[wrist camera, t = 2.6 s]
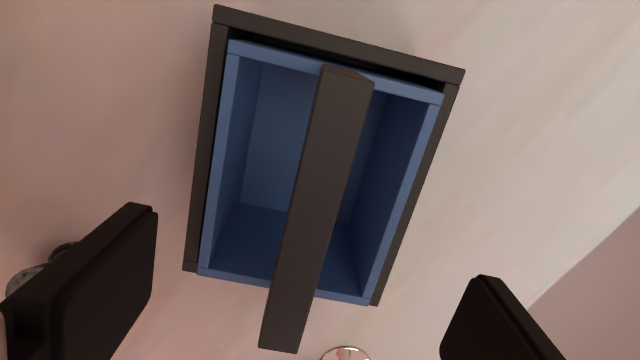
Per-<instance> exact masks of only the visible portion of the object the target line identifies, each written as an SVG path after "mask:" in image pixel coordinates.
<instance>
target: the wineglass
mask: <svg viewBox="0 0 640 360" xmlns="http://www.w3.org/2000/svg"><path fill="white" fill-rule="evenodd" d="M321 360H370V359H369V358H368V356H367V355H366V354H365V353H364V352H363V351H361V350H359V349H357V348H354V347H339V348H335V349H333V350H331V351H329V352H328V353H326V354H325V355H324V356H323V358H322V359H321Z"/></svg>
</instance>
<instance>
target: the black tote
mask: <svg viewBox="0 0 640 360" xmlns="http://www.w3.org/2000/svg"><path fill="white" fill-rule="evenodd" d="M212 22H214V23H212V24H211V32H210V40H209V48H208V57H207V65H206V74H205V82H204V90H203V99H202V107H201V116H200V124H199V132H198V141H197V149H196V158H195V166H194V174H193V183H192V191H191V200H190V208H189V216H188V225H187V233H186V242H185V250H184V260H183V266H182V270H183V271H188V272H193V273H197V268H198V260H199V253H200V246H201V238H202V231H203V224H204V217H205V209H206V202H207V195H208V188H209V180H210V173H211V166H212V159H213V151H214V144H215V137H216V129H217V122H218V115H219V108H220V100H221V93H222V86H223V79H224V71H225V64H226V57H227V54H228V52H227V49H228V42H229V40H230V39H232V40H259V41H264V42H268V43H272V44H276V45H280V46H284V47H288V48H292V49H296V50H299V51H303V52H307V53H311V54H315V55H319V56H323V57H327V58H331V59H335V60H338V61H342V62H346V63H350V64H354V65H358V66H362V67H366V68H370V69H374V70H378V71H381V72H385V73H389V74H393V75H397V76H400V77H403V78H405V79H408V80H410V81H413V82H415V83H418V84H421V85H423V86H426V87H428V88H431V89H433V90H436V91H438V92H441V93H443V94H445V96H444V99H443V102H442V104H441V106H440V110H439V113H438V115H437V118H436V121H435V124H434V126H433V129H432V132H431V135H430V137H429V140H428V143H427V146H426V148H425V151H424V154H423V157H422V159H421V162H420V165H419V168H418V170H417V173H416V176H415V179H414V181H413V184H412V187H411V190H410V192H409V195H408V198H407V201H406V203H405V206H404V209H403V212H402V214H401V217H400V220H399V223H398V225H397V228H396V231H395V234H394V236H393V239H392V242H391V245H390V247H389V250H388V253H387V256H386V258H385V261H384V264H383V267H382V269H381V272H380V275H379V278H378V280H377V283H376V286H375V289H374V291H373V294H372V297H371V300H370V302H369V305H371V306H378V304H379V301H380V299H381V296H382V293H383V290H384V288H385V285H386V282H387V280H388V277H389V274H390V272H391V269H392V266H393V264H394V261H395V258H396V256H397V253H398V250H399V248H400V245H401V242H402V240H403V237H404V235H405V232H406V229H407V227H408V224H409V221H410V219H411V216H412V213H413V211H414V208H415V205H416V203H417V200H418V197H419V195H420V192H421V189H422V187H423V184H424V181H425V179H426V176H427V173H428V171H429V168H430V165H431V163H432V160H433V157H434V155H435V152H436V149H437V147H438V144H439V141H440V139H441V136H442V133H443V131H444V128H445V125H446V123H447V120H448V117H449V115H450V112H451V109H452V107H453V104H454V101H455V99H456V96H457V93H458V91H459V88H460V86H459V85H460V84H461V82H462V79H463V77H464V74H465V70H464V69H461V68H457V67H453V66H450V65H446V64H442V63H438V62H434V61H431V60H427V59H423V58H419V57H415V56H412V55H408V54H404V53H400V52H396V51H393V50H389V49H385V48H381V47H378V46H374V45H370V44H366V43H362V42H359V41H355V40H351V39H347V38H343V37H340V36H336V35H332V34H328V33H324V32H321V31H317V30H313V29H309V28H305V27H302V26H298V25H294V24H290V23H286V22H283V21H279V20H275V19H271V18H267V17H264V16H260V15H256V14H252V13H248V12H245V11H241V10H237V9H233V8H229V7H226V6H222V5H218V4H214V8H213V16H212Z"/></svg>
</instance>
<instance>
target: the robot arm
mask: <svg viewBox="0 0 640 360" xmlns="http://www.w3.org/2000/svg"><path fill="white" fill-rule="evenodd" d="M157 226H158V213H156V212H153V210H152V207H151V206H148V205H143V204H138V203H134V202H128V203H126V204H125V205H124V206H123V207H122V208H120V209H119V210H118V211H117V212H115V213H114V214H113V215H112V216H110V217H109V218H108V219H107V220H105V221H104V222H103V223H102V224H101V225H99V226H98V227H97V228H96V229H94V230H93V231H92V232H91V233H89V234H88V235H87V236H86V237H84V238H83V239H82V240H81V241H80V242H77V243H75V244H74V245H72V246H71V247H70V248H68V249H67V250H66V251H65V252H63V253H62V254H61V255H60V256H58V257H57V258H56V259H55V260H53V261H52V262H51V263H50V264H48V265H47V266H46V267H45V268H43V269H42V270H41V271H40V272H38V273H37V274H36V275H35V276H33V277H32V278H31V279H30V280H28V281H27V282H26V283H25V284H23V285H22V286H21V287H20V288H18V289H17V290H16V291H15V292H13V293H12V294H11V295H10V296H8V297H7V298H6V299H5V300H3V301H2V302H1V303H0V360H110V359H111V357H112V356H113V354H114V353H115V351H116V350H117V348H118V347H119V345H120V344H121V342H122V341H123V339H124V338H125V336H126V335H127V333H128V332H129V330H130V329H131V327H132V326H133V324H134V323H135V321H136V320H137V318H138V317H139V315H140V314H141V312H142V311H143V309H144V308H145V306H146V305H147V303H148V301H149V298H150V295H151V291H152V280H153V269H154V258H155V247H156V237H157ZM439 353H440V358H441V360H566V359H565V358H564V357H563V355H562V354H561V353H560V351H559V350H558V349H557V348H556V347H555V345H554V344H553V343H552V342H551V340H550V339H549V338H548V337H547V335H546V334H545V333H544V332H543V330H542V329H541V328H540V327H539V325H538V324H537V323H536V322H535V320H533V318H532V317H531V315H530V314H529V313H528V312H527V311H526V309H525V308H524V307H523V306H522V304H521V303H520V302H519V301H518V299H517V298H516V297H515V296H514V294H513V293H512V292H511V291H510V289H509V288H508V287H507V286H506V285H505V283H504V282H503V281H502V280H501V279H500V278H497V277H492V276H487V275H482V274H480V275H478V276H477V277H476V278H472V279H471V280H470V281H469V283H468V286H467V288H466V290H465V292H464V294H463V296H462V299H461V301H460V303H459V305H458V307H457V309H456V312H455V314H454V316H453V318H452V320H451V322H450V324H449V327H448V329H447V331H446V333H445V335H444V337H443V340H442V342H441V344H440V348H439Z"/></svg>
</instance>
